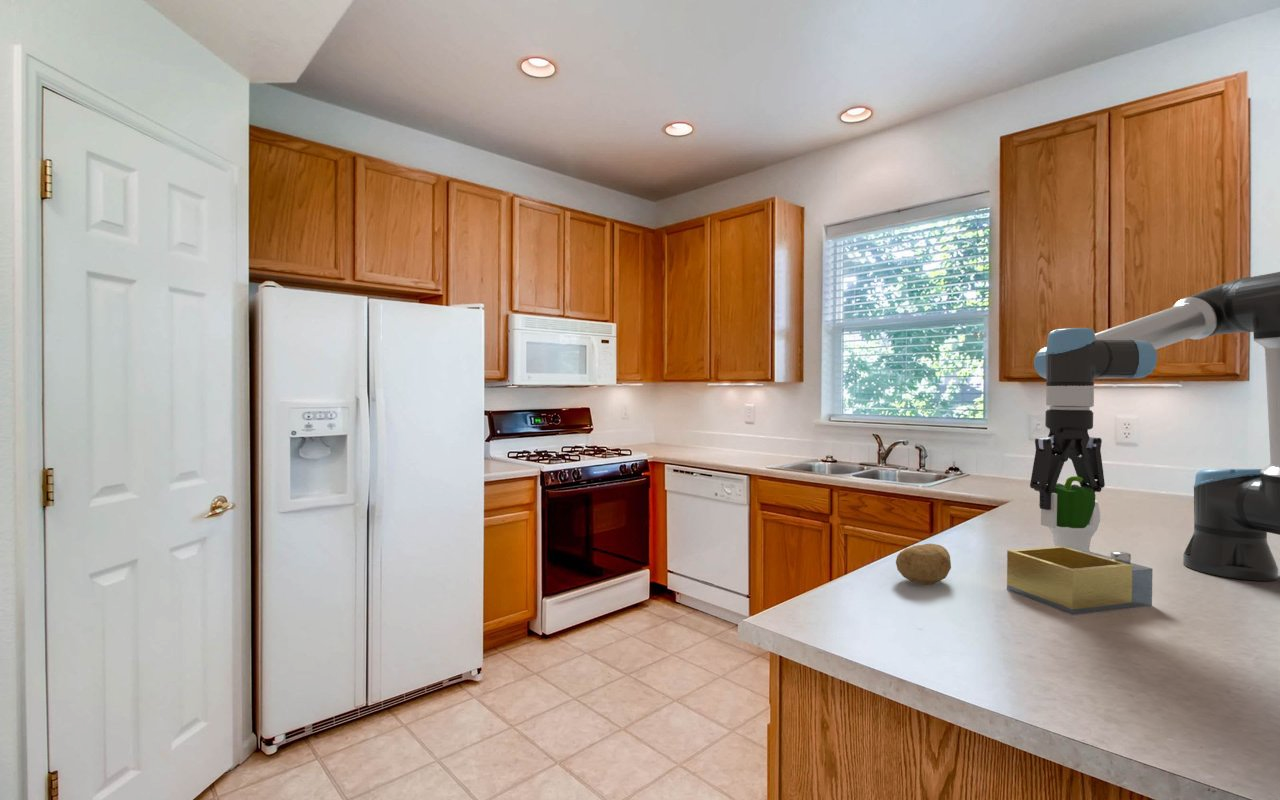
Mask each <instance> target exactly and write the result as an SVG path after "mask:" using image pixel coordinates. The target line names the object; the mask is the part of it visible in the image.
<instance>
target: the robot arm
mask: <svg viewBox="0 0 1280 800" xmlns="http://www.w3.org/2000/svg"><path fill="white" fill-rule="evenodd" d="M1237 333H1253V342H1255V343H1257V344H1259V345H1260V346H1262V347H1263V348H1264V356H1265V359H1264V360H1265V377H1266V378H1265V379H1266V380H1265V381H1266V400H1267V401H1266V402H1267V418H1268V419H1267V420H1268V422H1267V423H1268V439H1269V459H1270V460H1269V461H1270V463H1269V464H1268V465H1267V466H1265V467H1264V468H1204V469H1203V468H1202V469H1200V470H1199V471H1197V472H1196V474H1195V477H1194V485H1193V525H1194V526H1193V533H1192V536H1191V537H1190V540H1189V542H1188V544H1187V545H1186V548H1185V550H1184V553H1183V558H1182V564H1183V566H1185V567H1187V568H1188V569H1192V570H1193V571H1194V570H1195V571H1197V572H1200V573H1201V572H1202V573H1205V574H1209V575H1214V576H1219V577H1223V578H1224V577H1225V578H1231V579H1237V580H1246V581H1259V582H1260V581H1261V582H1262V581H1266V582H1267V581H1276V580H1278V579H1279V567H1278V565H1277V562H1276V560H1275V558H1274V556H1273V552H1272V551H1271V548H1270V546H1269V544H1268V539H1267V538H1268V535H1267V534H1268V533H1269V534H1272V535H1273V534H1274V535H1278V536H1280V271H1277V272H1272V273H1266V274H1259V275H1254V276H1249V277H1242V278H1238V279H1234V280H1230V281H1226V282H1224V283H1222V284H1218V285H1216V286H1214V287H1210V288H1209V289H1205V290H1203V291H1200V292H1198V293H1195V294H1192V295H1190V296H1187V297H1185V298H1181V299H1180V300H1178V301H1176V302H1175V303H1174V304H1173V306H1172V307H1169V308H1165V309H1163V310H1161V311H1158V312H1154V313H1152V314H1149V315H1146V316H1145V315H1144V316H1143V317H1140V318H1137V319H1135V320H1130V321H1128V322H1125V323H1122V324H1119V325H1116V326H1113V327H1110V328H1108V329H1105V330H1102V331H1099V332H1095V330H1094V329H1092V328H1090V327H1089V328H1088V327H1071V328H1067V327H1066V328H1058V329H1054V330H1052V331H1050V332H1048V335H1047V341H1046V346H1045V347H1043V348H1041V349H1040V350H1038V352H1037V353H1036V354H1035V356H1034V359H1033V365H1034V366H1033V367H1034V370H1035V372H1036V373H1037V374H1038V375H1039V376H1040V377H1041V378H1043V379H1045V380H1046V381H1045V382H1046V384H1045V385H1046V390H1045V391H1046V394H1045V395H1046V399H1045V406H1047V407H1049V408H1048V409H1046V410H1045V420H1044V421H1045V425H1044V426H1045V427H1046V428H1048V429H1049V433H1048V434H1047V437H1044V438H1043V437H1036V438H1035V440H1034V444H1035V453H1034V454H1035V455H1034V458H1033V459H1034V460H1033V465H1032V471H1031V477H1030V482H1029V487H1030V488H1031V489H1032V490H1034V491H1036V492H1039V504H1038V506H1039V509H1040V526H1043V527H1048V528H1049V527H1051V528H1057V494H1055V493H1053V492H1054V489H1055V486H1056V484H1057V483H1058V481H1059V478H1060V475H1061V472H1062V470H1063V467H1064V465H1065V462H1068V460H1071V462H1072V465H1073V467H1074V471H1075V475H1076V476H1077V477H1081V478H1083V480H1082V481H1081V482H1078V483H1079V486H1080V487H1087V488H1091V489H1093V491H1094V493H1095V494H1096V493H1101V491H1102V489H1103V488H1105V486H1106V485H1105V484H1106V483H1105V475H1104V467H1103V459H1102V451H1101V448H1102V440H1103V439H1102V438H1101V437H1093V436H1090V434H1089V433H1088V431H1089V430H1091V429H1093V428H1094V412H1093V411H1092V409H1091V408H1092V407H1093V408H1094V406H1095V405H1094V404H1095V380H1097V379H1098V380H1100V379H1101V380H1102V379H1103V380H1106V379H1107V380H1108V379H1112V380H1113V379H1125V380H1132V379H1142V378H1145V377H1148V376H1150V375H1151V374H1152V372H1154V370H1155V369H1156V366H1157V364H1158V353H1157V350H1159V349H1162V348H1164V347H1168V346H1170V345H1173V344H1177V343H1179V342H1182V341H1185V340H1188V339H1190V340H1203V339H1206V338H1208V337H1211V336H1217V335H1225V334H1227V335H1229V334H1237ZM1047 485H1048V486H1047ZM1088 525H1090V526H1092V525H1093V514H1092V517H1091V520H1090V522H1089V524H1088Z"/></svg>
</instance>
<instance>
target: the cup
mask: <svg viewBox="0 0 1280 800" xmlns="http://www.w3.org/2000/svg"><path fill="white" fill-rule="evenodd" d="M1100 523H1101V509H1100V506H1099V502H1098V500H1096V499H1095V507H1094V511H1093V525H1092V526H1090V525H1087V526H1086V527H1085V528H1069V527H1058V526H1057V528H1051V527H1048V528H1049V530H1050V531H1051V534H1052V538H1053V547H1056V546H1064V547H1068V548H1071V549H1075V550H1077V549H1082V550H1086V551H1089V552H1091V551H1090V547H1091V541H1092V538H1093V536H1094V534H1095V533H1096V532H1097V530H1098V528H1099V525H1100Z"/></svg>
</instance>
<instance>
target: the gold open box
mask: <svg viewBox="0 0 1280 800" xmlns="http://www.w3.org/2000/svg"><path fill="white" fill-rule="evenodd" d="M1006 551H1007V552H1006V553H1007V555H1006V557H1007V558H1006V559H1007V560H1006V590H1007V591H1009V592H1013V593H1014V594H1018V595H1020V596H1021V597H1024V598H1025V597H1026V598H1028V599H1029V600H1033V601H1035V602H1038V603H1040V604H1043V605H1047V606H1049V607H1051V608H1054V609H1057V610H1060V611H1062V612H1064V613H1066V614H1069V615H1082V614H1091V613H1099V612H1109V611H1115V610H1124V609H1126V610H1127V609H1132V608H1134V609H1135V608H1141V607H1142V608H1143V607H1149V606H1150V607H1151V606H1152V605H1153V568H1152V567H1148V566H1145V565H1141V564H1137V563H1133V562H1131V559H1132V558H1131V557H1132V556H1131V553H1128V552H1124V551H1120V550H1111V551H1110V556H1108V555H1103V554H1101V553H1097V552H1093V551H1092V552H1091V551H1090V550H1089V551H1090V552H1089V551H1086V550H1082V549H1077V550H1075V549H1071V548H1068V547H1064V546H1056V547H1054V546H1046V547H1034V548H1023V549H1022V548H1021V549H1010V550H1009V549H1008V550H1006Z"/></svg>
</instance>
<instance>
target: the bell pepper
mask: <svg viewBox="0 0 1280 800" xmlns="http://www.w3.org/2000/svg"><path fill="white" fill-rule="evenodd" d="M1082 480H1083V478H1081V477H1077V475H1076V476H1074V475H1073V476H1070V477H1068V478H1066V481H1065V483H1064V484H1061V483H1058V482H1057V483H1056V486H1055V489H1054V492H1053V493H1055V494H1057V526H1058V527H1069V528H1085V527H1086V526H1087V525H1088V524H1089V522H1090V520H1091V517H1092V514H1093V511H1094V507H1095V500H1096V492H1095V493H1094V491H1093V489H1091V488H1087V487H1081V486H1080V485H1078V484H1072V483H1073V482H1078V483H1079V482H1081V481H1082ZM1047 486H1048V484H1047Z"/></svg>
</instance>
